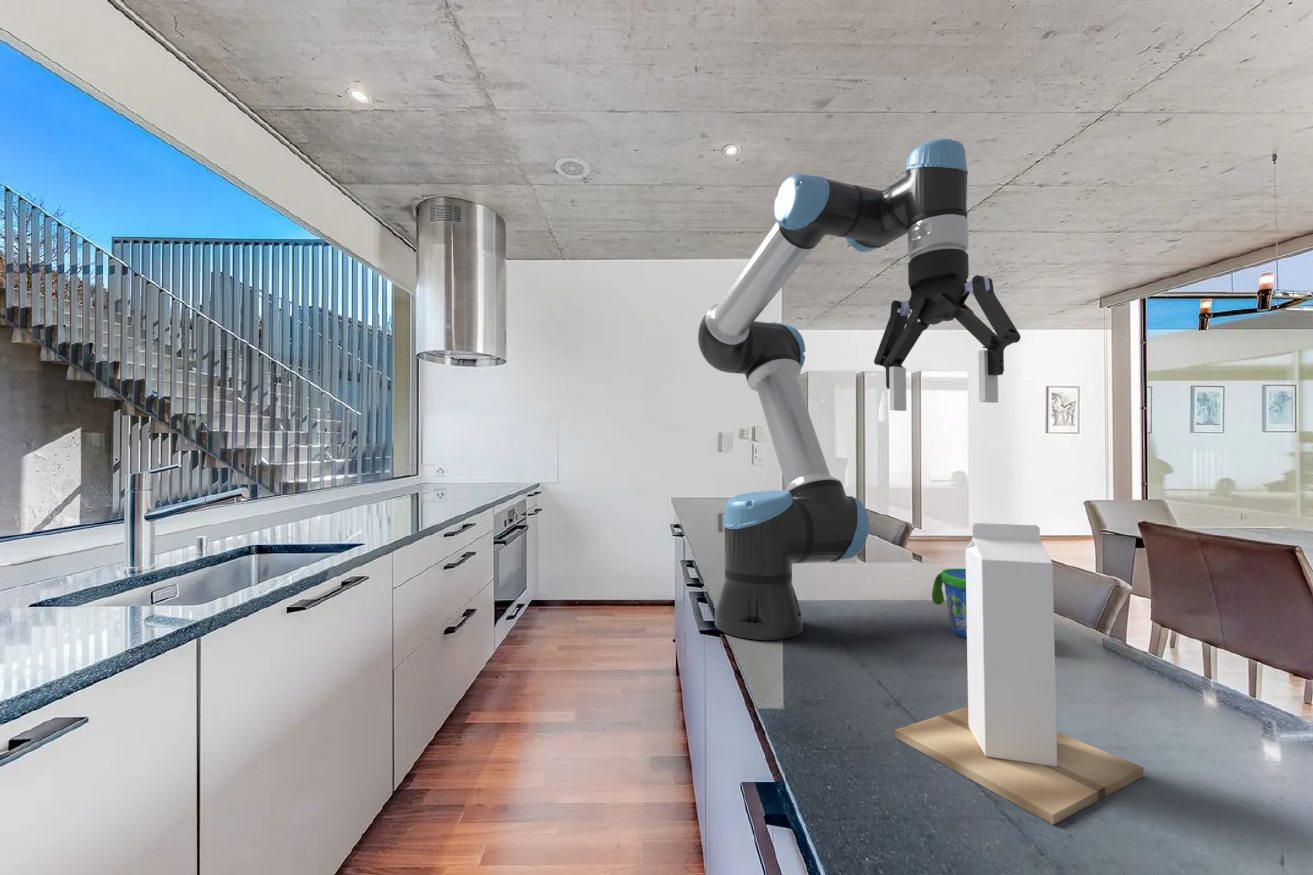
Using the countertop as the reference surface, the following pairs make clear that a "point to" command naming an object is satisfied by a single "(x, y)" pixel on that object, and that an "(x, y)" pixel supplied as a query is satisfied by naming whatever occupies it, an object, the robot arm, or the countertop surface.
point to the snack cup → (953, 597)
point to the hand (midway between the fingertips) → (939, 406)
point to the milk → (1011, 644)
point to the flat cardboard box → (1024, 767)
